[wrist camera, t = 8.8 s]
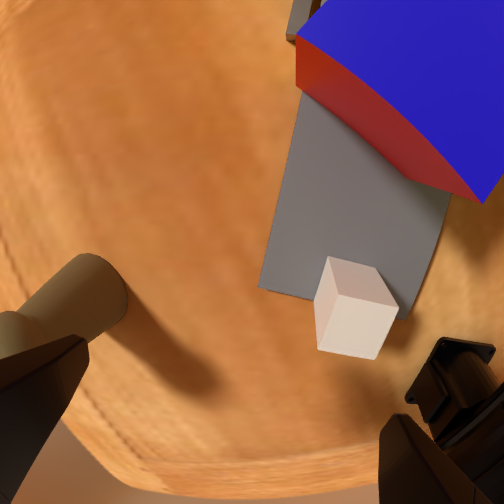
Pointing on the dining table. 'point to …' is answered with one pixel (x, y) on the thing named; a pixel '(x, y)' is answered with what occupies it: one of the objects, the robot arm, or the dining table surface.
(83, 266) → the cork
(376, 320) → the grey panel with knob
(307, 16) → the lane rails
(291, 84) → the dining table surface
